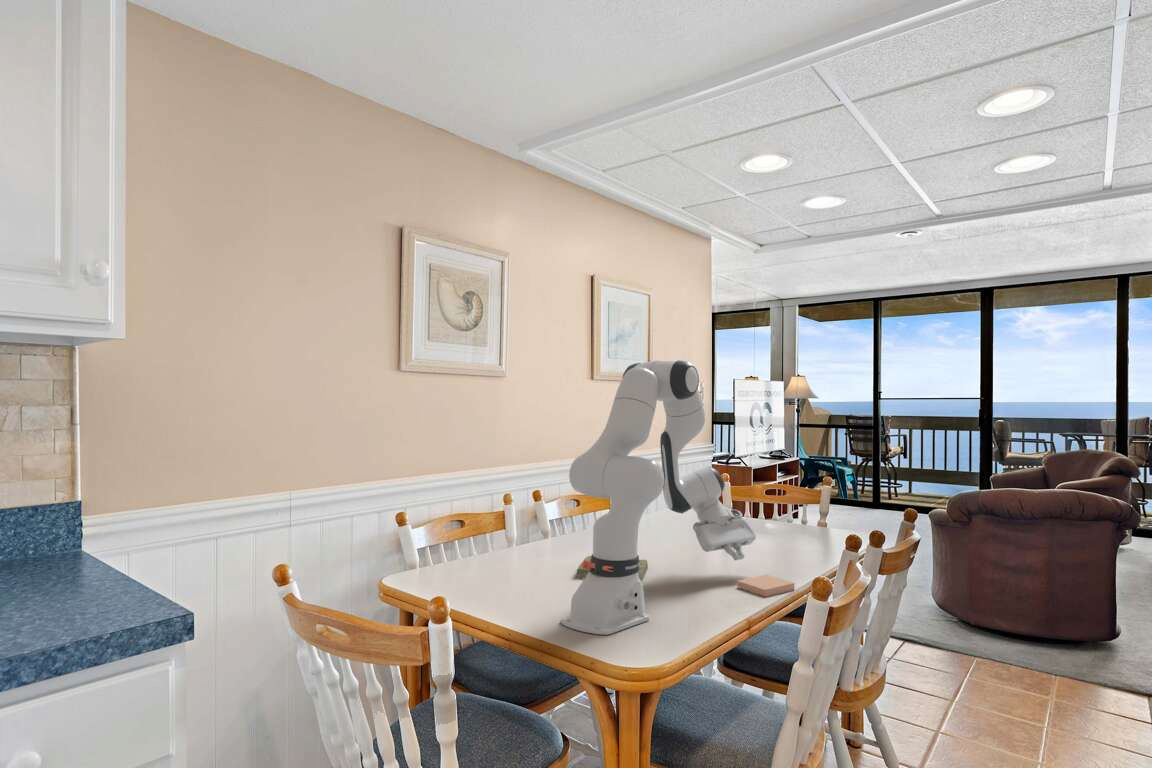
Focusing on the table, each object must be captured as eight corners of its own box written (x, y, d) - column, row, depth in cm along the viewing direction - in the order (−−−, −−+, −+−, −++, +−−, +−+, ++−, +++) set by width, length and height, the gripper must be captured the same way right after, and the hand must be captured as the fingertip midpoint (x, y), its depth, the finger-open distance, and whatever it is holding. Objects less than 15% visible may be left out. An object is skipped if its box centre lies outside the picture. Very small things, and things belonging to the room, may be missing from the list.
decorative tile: (585, 565, 204) (585, 554, 204) (648, 569, 200) (648, 557, 200) (573, 581, 186) (573, 569, 186) (641, 586, 182) (641, 573, 182)
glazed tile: (737, 589, 179) (765, 598, 170) (737, 580, 179) (765, 589, 170) (765, 582, 185) (794, 591, 177) (765, 574, 185) (794, 582, 177)
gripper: (695, 517, 187) (720, 557, 179) (744, 510, 198) (769, 548, 190) (685, 529, 191) (708, 569, 182) (733, 522, 202) (757, 560, 193)
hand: (740, 558), depth 186 cm, fingers closed
